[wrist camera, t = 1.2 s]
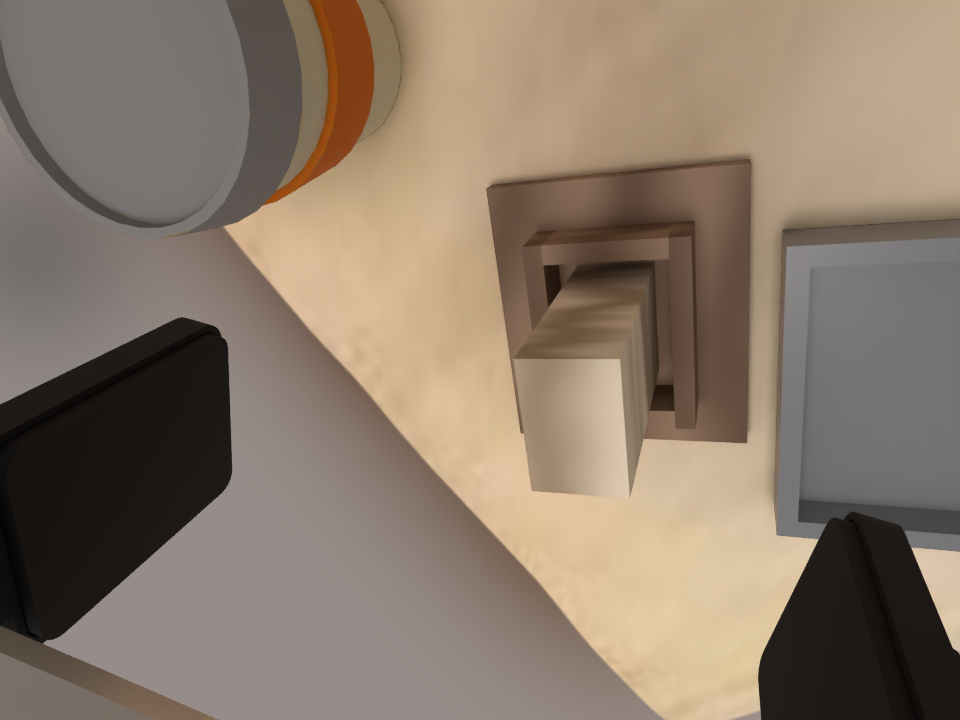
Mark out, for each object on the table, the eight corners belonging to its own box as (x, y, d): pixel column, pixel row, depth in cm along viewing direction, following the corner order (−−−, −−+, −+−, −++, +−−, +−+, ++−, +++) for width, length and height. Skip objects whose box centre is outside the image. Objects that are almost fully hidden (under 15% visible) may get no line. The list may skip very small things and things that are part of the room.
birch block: (654, 262, 34) (619, 359, 24) (659, 368, 36) (629, 498, 26) (577, 266, 35) (513, 358, 25) (586, 367, 37) (531, 490, 27)
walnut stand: (750, 159, 31) (752, 174, 28) (746, 434, 37) (748, 473, 34) (492, 185, 36) (467, 200, 32) (525, 425, 42) (506, 459, 38)
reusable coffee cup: (213, 120, 40) (-30, 158, 27) (252, -118, 33) (-44, -215, 21) (391, 214, 39) (223, 301, 26) (467, -14, 32) (292, -48, 19)
